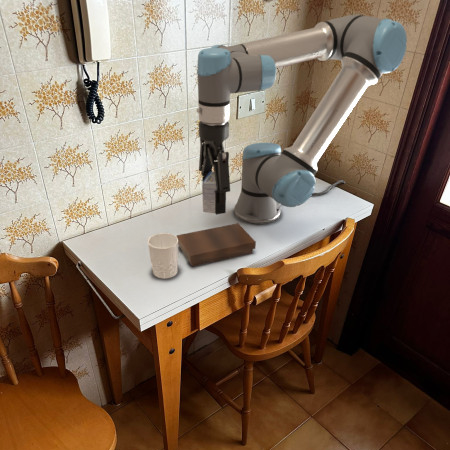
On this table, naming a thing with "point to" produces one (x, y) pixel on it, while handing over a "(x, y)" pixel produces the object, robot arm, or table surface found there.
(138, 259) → the table surface
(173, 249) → the white cup
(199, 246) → the board
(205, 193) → the medicine box
